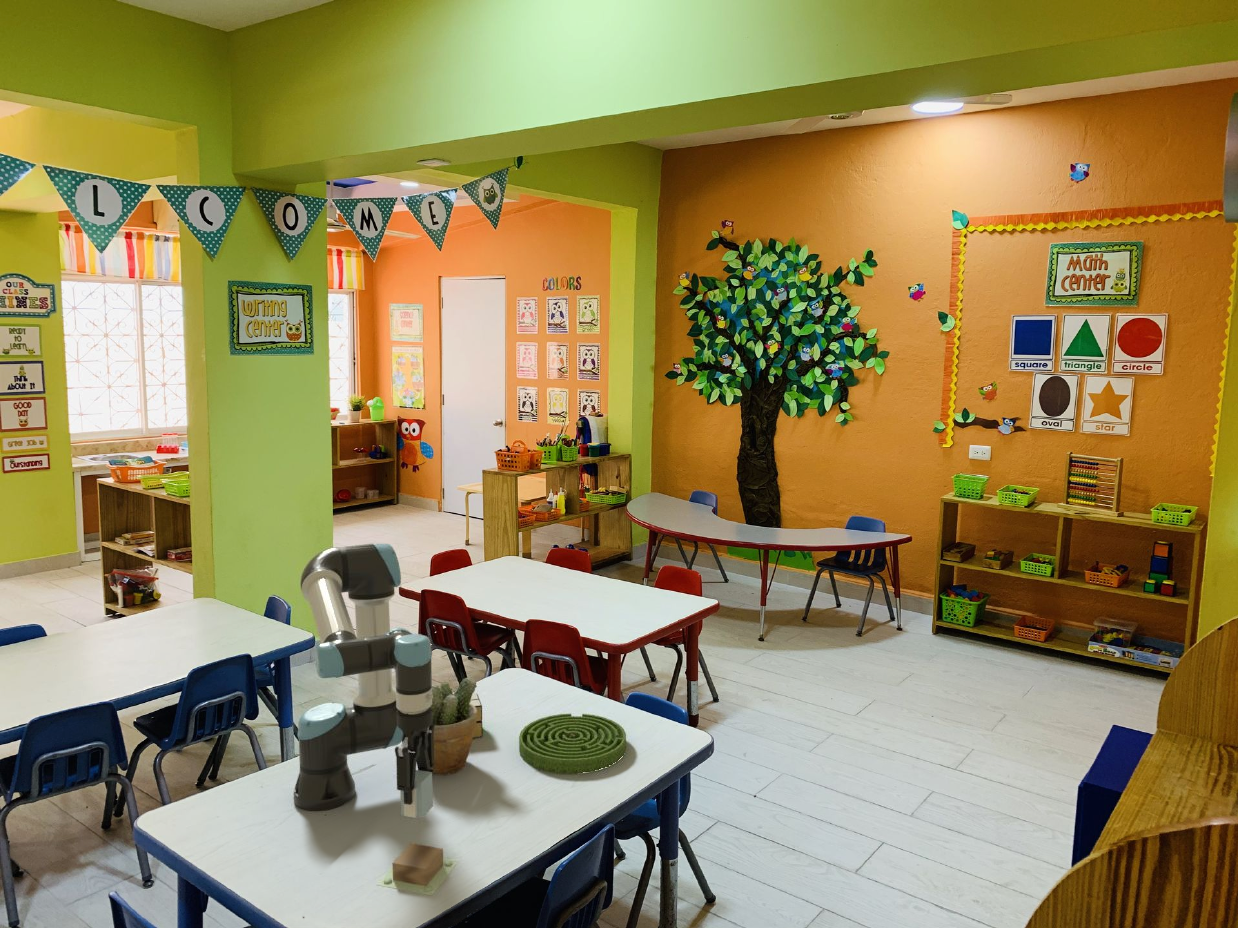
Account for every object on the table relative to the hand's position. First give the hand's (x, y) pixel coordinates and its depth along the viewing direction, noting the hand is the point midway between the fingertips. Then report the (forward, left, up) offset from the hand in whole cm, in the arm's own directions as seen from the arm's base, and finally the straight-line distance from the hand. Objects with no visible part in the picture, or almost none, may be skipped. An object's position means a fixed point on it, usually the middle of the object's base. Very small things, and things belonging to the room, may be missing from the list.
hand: (416, 808), depth 195 cm
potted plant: (-18, +49, -16) cm, 55 cm away
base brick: (0, 0, -15) cm, 15 cm away
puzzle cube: (-22, +70, -16) cm, 75 cm away
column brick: (0, 0, 0) cm, 0 cm away
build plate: (0, 0, -16) cm, 16 cm away
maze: (+13, +69, -17) cm, 72 cm away
